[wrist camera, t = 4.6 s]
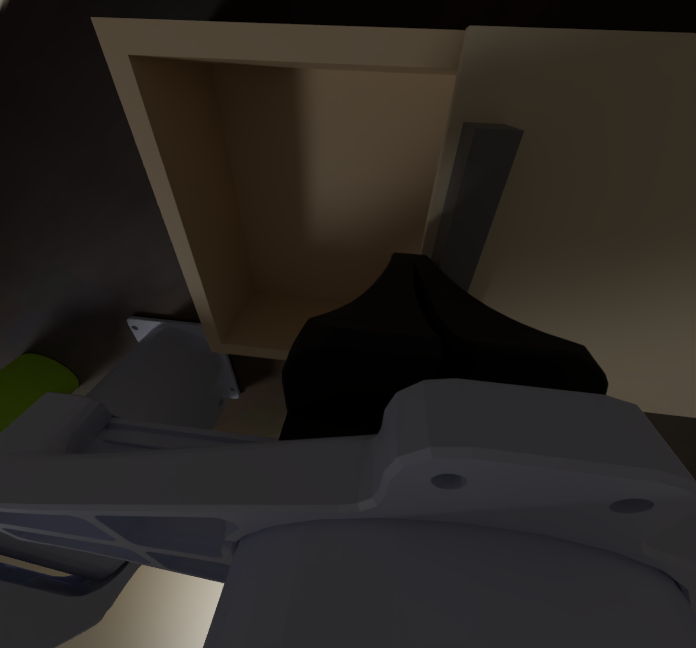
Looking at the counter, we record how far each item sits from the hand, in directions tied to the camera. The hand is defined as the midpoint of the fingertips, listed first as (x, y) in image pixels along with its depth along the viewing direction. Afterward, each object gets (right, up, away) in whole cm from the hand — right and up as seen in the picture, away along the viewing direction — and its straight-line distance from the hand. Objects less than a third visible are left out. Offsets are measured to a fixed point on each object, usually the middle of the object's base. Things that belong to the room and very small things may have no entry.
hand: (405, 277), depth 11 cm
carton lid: (+9, 0, 0) cm, 9 cm away
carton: (-2, +5, +6) cm, 8 cm away
